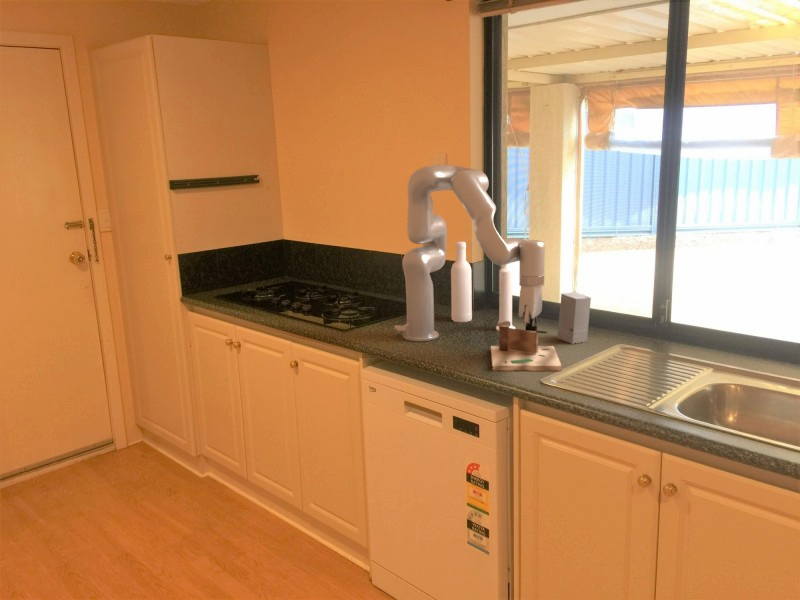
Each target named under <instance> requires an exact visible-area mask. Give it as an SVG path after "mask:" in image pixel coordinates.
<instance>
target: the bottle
mask: <svg viewBox="0 0 800 600" xmlns="http://www.w3.org/2000/svg"><path fill="white" fill-rule="evenodd" d="M466 244H467V243H466V242H465V241H457V242H456V243H455V248H456V249H455V254H456V259H455V260H456V261H454V263H453V264H452V266H451V269H450V283H451V286H450V288H451V290H450V291H451V293H450V295H451V302H450V303H451V311H450V312H451V313H450V314H451V315H450V316H451V321H452V320H453V321H452V322H454V323H455V322H456V323H467V322H468V321H469V322H472V320H473V319H472V318H473V309H472V308H473V307H472V306H473V305H472V303H473V302H472V299H473V297H472V296H473V294H472V289H473V288H472V287H473V286H472V278H473V277H472V267H471V265H470V263H469V262H468V261H467V251H466V250H467V249H466V248H467V245H466Z"/></svg>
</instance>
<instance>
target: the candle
mask: <svg viewBox="0 0 800 600" xmlns="http://www.w3.org/2000/svg"><path fill="white" fill-rule="evenodd" d="M498 275H499V279H498V280H499V283H498V284H499V287H498V289H499V294H498V295H499V299H498V303H499V306H498V307H499V320H498V322H499V321H509V322H510V326H509V328H513V329H517V328H516V326H514V325H513V269H511V267H509V266H508V264H506V265H503V266H502V268H501V269H499V274H498ZM495 330H496V331H497V332H499V326H498V325H496V327H495Z"/></svg>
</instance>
